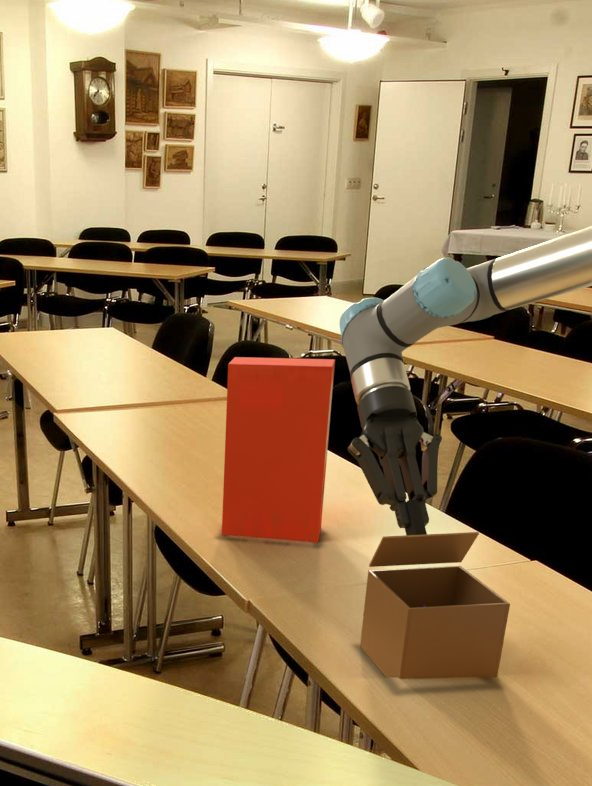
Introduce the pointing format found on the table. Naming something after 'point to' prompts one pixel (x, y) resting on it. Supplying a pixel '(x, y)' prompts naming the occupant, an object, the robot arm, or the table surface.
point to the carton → (432, 623)
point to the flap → (423, 549)
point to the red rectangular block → (276, 447)
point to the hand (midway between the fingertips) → (419, 548)
